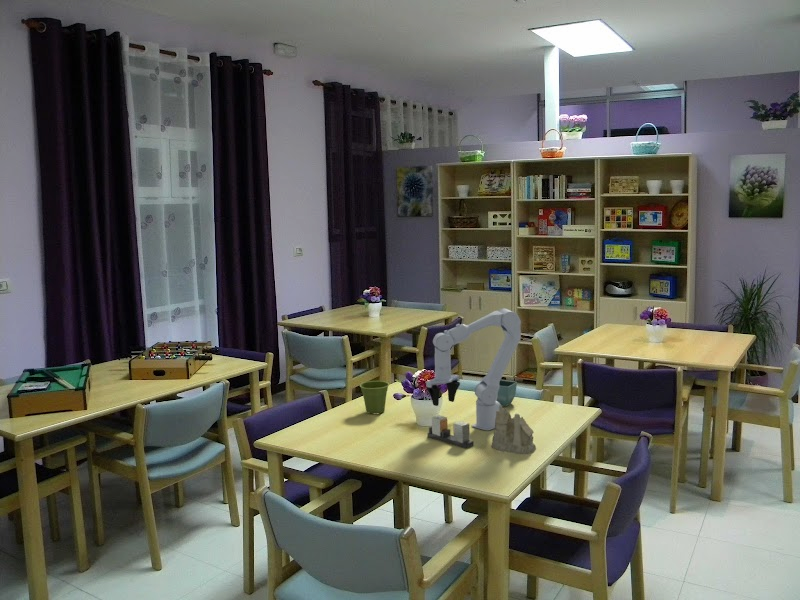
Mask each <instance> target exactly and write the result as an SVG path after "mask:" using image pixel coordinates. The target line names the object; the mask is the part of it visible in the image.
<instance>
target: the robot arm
mask: <svg viewBox="0 0 800 600" xmlns="http://www.w3.org/2000/svg"><path fill="white" fill-rule="evenodd" d="M521 324H522V320H521V318H520V316H519V315H518V313H516V312H515V311H512V310H510V309H508V308H505V307H504V308H503V307H502V308H500V309H498V310H494V311H492V312H490V313H488V314H486V315H485V316H483V317H481V318H478V319H477V320H475V321H473V322H471V323H469V324H464V323H461V324H460V323H457V324H455V326H454V327H453V328H450V329H446V330H443V332H438V333H436V334H435V336H433V339H432V344H433V346H434V378H432V379H429V380H427V381H425V385H426V388H425V389H426V390H427V391H428V393H429V396H430V398H431V402H432V405H433V406H435V407H438V406H439V403H440V402H439V401H440V399H439V398H440V391H441V388H440V387H438V386H440V385H444V384H445V385H446V388H447V396H448V397H447V398H448V402H451V403H453V402H455V398H456V394H457V392H458V389H459V387H460V385H461V382H460V375H459V374H452V366H451V365H452V364H451V358H452V357H451V355H452V354H451V348H452V347H453V346H455V345H457V344H459V343H462V342H464V341H466V340H468V339H470V337H471V335H472V334H474V333H476V332H478V331H481V330H483V329H485V328H488V327H491V326H495V327H500V328H501V329H502V331H503V335H504V339H503V341H502V343H501V345H500V348H499V349H498V350H497V354H496V355H495V357H494V359H493V362H492V364H491V365H490V367H489V369H488V371H487V373H486V375H485V376H483V378H482V379H481V381H480V382H479V383H478V384H476V385H475V386H474V387H475V388H474V395H475V396H476V397H477V399H476V401H475V402H476V403H475V405H476V407H475V408H476V409H475V410H476V411H475V413H476V416H475V417H476V419H475V421H476V422H475V423H473V424H471V425H470V426H471V427H473V428H476V429H478V430H479V429H480V430H483V431H490V430H493V429H496V428H495V418H496V411H498V412H499V406H500V405H501V404H500V403H499V402H498V401H496V400H497V397H498V390H499V382H500V380H502V378H503V376H504V374H505V371H506V370H507V367H508V365H509V363H510V362H511V359H512V357H513V355H514V353H515V351H516V350H517V347H518V346H519V343H520V341H521V338H522V331H521V329H522V328H521Z"/></svg>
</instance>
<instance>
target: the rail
mask: <svg viewBox="0 0 800 600" xmlns="http://www.w3.org/2000/svg"><path fill="white" fill-rule="evenodd" d="M470 433H471V432H470V422H465V421H461V420H460V421H457V422H454V423H453V434H451V428H448V429H447V430H444V431H442V436H438V435H434V434H432V426H429V427H428V432H427V438H430V439H432V440H433V439H434V440H436V441H440V442H442V443H443V442H444V443H445V444H450V445H452V446H456V447H460V448H463V449H468V448H471V447H473V446H474V440H471V439H470V435H471V434H470Z"/></svg>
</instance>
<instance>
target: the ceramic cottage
mask: <svg viewBox="0 0 800 600" xmlns="http://www.w3.org/2000/svg"><path fill="white" fill-rule="evenodd" d="M503 407H504V406H502V405H500V406H499V412H498V411H496V418H495V428H494V429H495V430H494V431H493V435H492V438H491V441H492V442H491V448H493V449H495V450H497V451H500V452H505V453H511V454H515V455H516V454H517V455H528V454H532V453H534V452H535V451H536V450H537V447H536V444H535V443H533V441H534V436H533V435H534V430H533V429H532V428H531V426H530V425H529V424H528V423H527V421H526V420H525V418H524V416H521V415H520V414H519V413H515V414H514V416H513V417H512V416H511V413H510V412H509V411H506V409H505V408H503Z"/></svg>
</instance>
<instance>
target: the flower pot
mask: <svg viewBox="0 0 800 600" xmlns="http://www.w3.org/2000/svg"><path fill="white" fill-rule="evenodd" d="M517 384H518V382H517V381H513V380H502V379H501V380H500V382H499V390H498V397H497V400H496V401H498V402H499V403H500V404H501V405H502V406H503V407H507V406H509V405H511V404H512V403H513V402H514V401H513V400H514V399H515V397H516V392H517V386H518V385H517Z"/></svg>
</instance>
